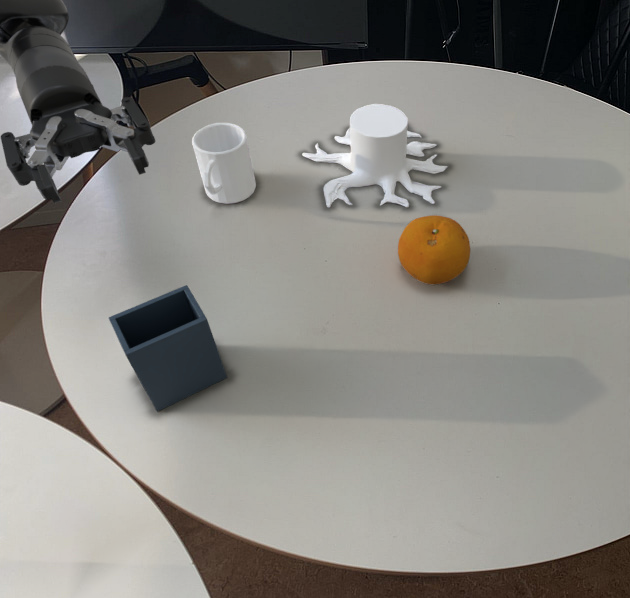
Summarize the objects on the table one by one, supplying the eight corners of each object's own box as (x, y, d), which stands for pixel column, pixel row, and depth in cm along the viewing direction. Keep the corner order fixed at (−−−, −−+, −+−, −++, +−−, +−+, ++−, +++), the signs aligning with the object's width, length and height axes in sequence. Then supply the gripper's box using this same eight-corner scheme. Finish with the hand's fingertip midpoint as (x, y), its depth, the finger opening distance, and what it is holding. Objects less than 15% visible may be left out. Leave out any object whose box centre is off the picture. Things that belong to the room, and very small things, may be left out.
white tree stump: (459, 204, 98) (466, 157, 91) (305, 214, 95) (300, 166, 88) (435, 124, 113) (439, 77, 105) (300, 130, 110) (295, 83, 102)
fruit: (387, 284, 86) (388, 244, 80) (409, 236, 93) (411, 196, 87) (457, 302, 85) (463, 264, 79) (474, 252, 91) (481, 213, 85)
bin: (140, 376, 75) (108, 317, 66) (208, 344, 79) (186, 284, 69) (157, 412, 72) (125, 355, 63) (227, 377, 76) (207, 319, 66)
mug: (190, 217, 94) (174, 166, 86) (214, 170, 102) (202, 119, 94) (241, 223, 94) (229, 172, 86) (261, 175, 101) (252, 124, 94)
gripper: (-27, 84, 63) (4, 177, 55) (110, 47, 68) (157, 129, 60) (8, 140, 69) (41, 232, 61) (131, 104, 74) (176, 184, 66)
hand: (98, 181), depth 61 cm, fingers open, 8 cm apart
